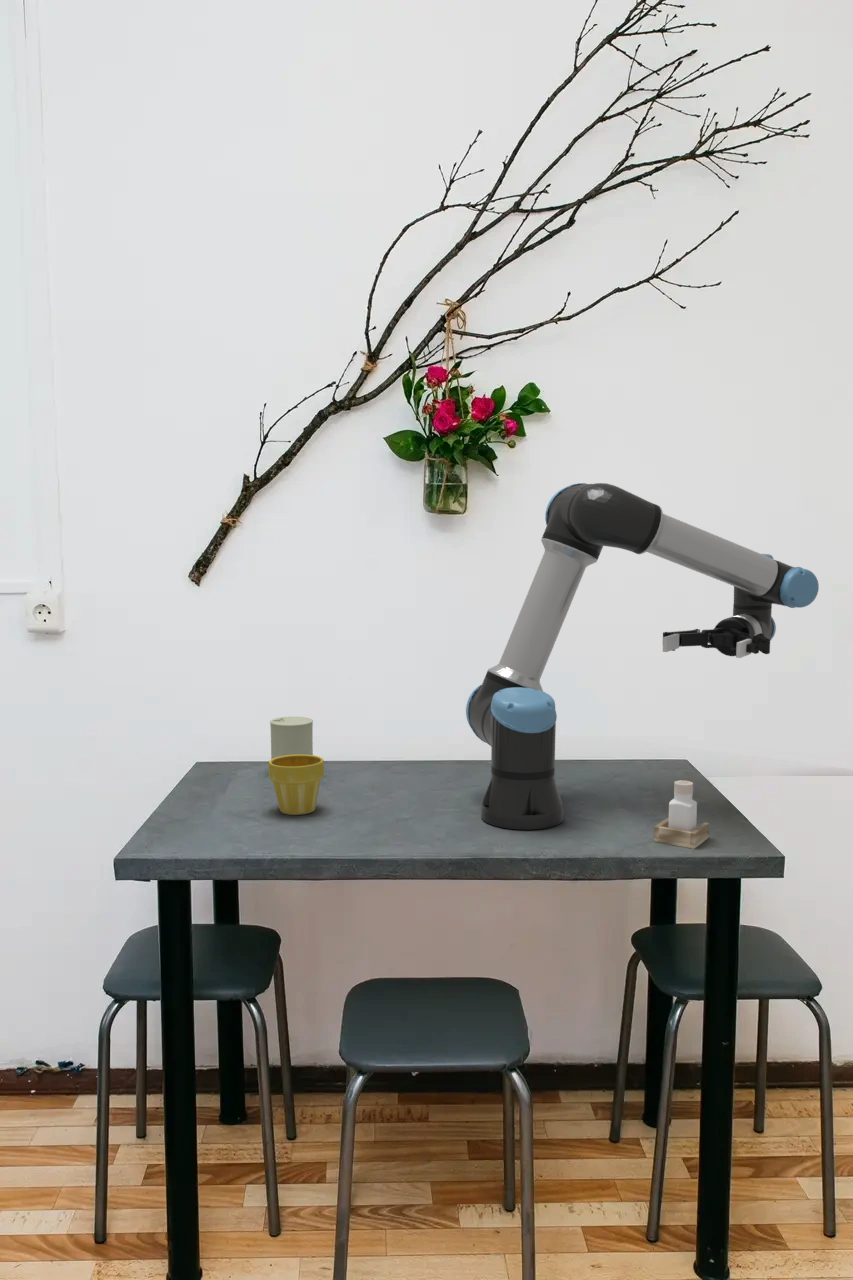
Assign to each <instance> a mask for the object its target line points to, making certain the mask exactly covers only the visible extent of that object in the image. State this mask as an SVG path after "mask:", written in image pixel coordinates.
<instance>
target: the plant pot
mask: <svg viewBox="0 0 853 1280" xmlns="http://www.w3.org/2000/svg"><path fill="white" fill-rule="evenodd" d="M268 775H269V776H268V778H269V780H270V781H271V782H272V784H273V787H274V792H275V794H276V799H277V804H278V808H279V811H280V813H282V814H285V815H289V816H300V815H307V814H312V813H313V812H315V811H316V807H317V801H318V796H319V795H318V794H319V790H320V784H321V780H322V779H323V777H324V776H325V761H324V758H323V757H321V756H318V755H314V754H313V755H302V754H299V755H285V756H280V757H276V758H273V759H271V758H270V760H269V761H268Z"/></svg>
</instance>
